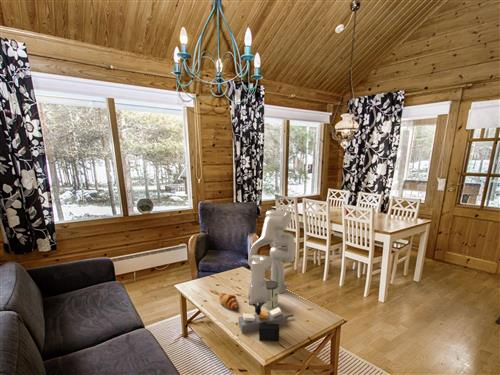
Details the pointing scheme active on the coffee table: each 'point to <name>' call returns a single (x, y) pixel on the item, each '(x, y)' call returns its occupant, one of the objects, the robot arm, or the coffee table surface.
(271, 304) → the coffee can
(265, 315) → the amber rocker
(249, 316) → the block
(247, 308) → the coffee table surface
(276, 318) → the power strip
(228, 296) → the croissant
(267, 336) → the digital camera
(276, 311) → the white rocker
